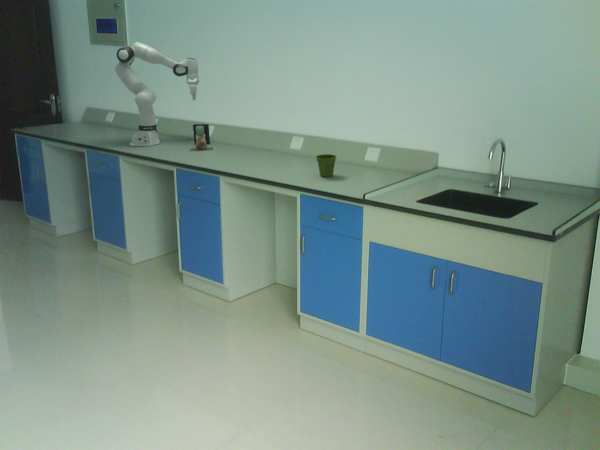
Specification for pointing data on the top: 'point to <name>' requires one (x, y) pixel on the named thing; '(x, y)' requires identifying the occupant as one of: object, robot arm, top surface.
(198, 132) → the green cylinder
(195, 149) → the mat
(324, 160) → the plant pot
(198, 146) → the bottom block
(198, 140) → the top block
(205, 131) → the black upright flat panel
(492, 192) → the top surface
